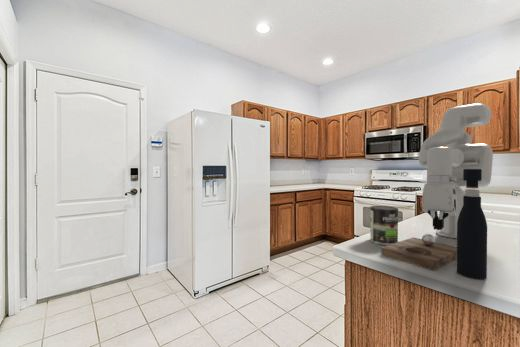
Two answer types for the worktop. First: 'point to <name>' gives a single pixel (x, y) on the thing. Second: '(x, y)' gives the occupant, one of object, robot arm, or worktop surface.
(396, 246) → the board
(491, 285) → the worktop surface
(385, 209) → the coffee can
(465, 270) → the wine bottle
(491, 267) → the worktop surface
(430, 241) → the ball
